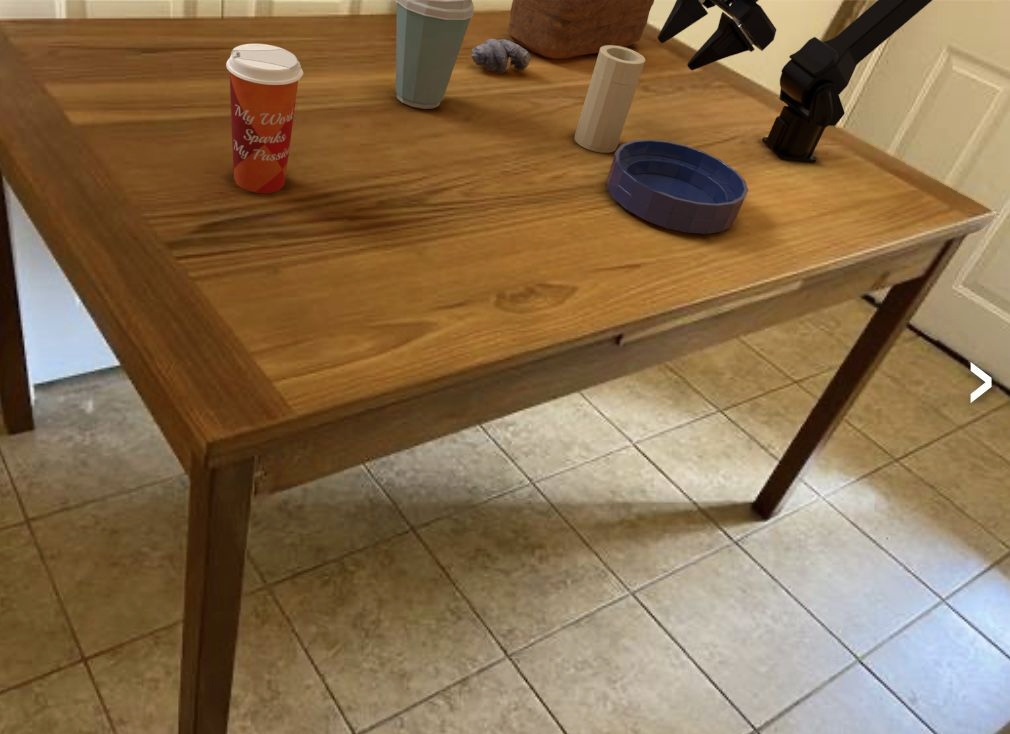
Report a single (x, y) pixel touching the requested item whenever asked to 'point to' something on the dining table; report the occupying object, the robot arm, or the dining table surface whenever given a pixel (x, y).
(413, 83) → the disposable coffee cup
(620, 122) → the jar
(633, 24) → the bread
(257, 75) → the paper cup
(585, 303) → the dining table surface
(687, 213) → the bowl
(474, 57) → the grey croissant
